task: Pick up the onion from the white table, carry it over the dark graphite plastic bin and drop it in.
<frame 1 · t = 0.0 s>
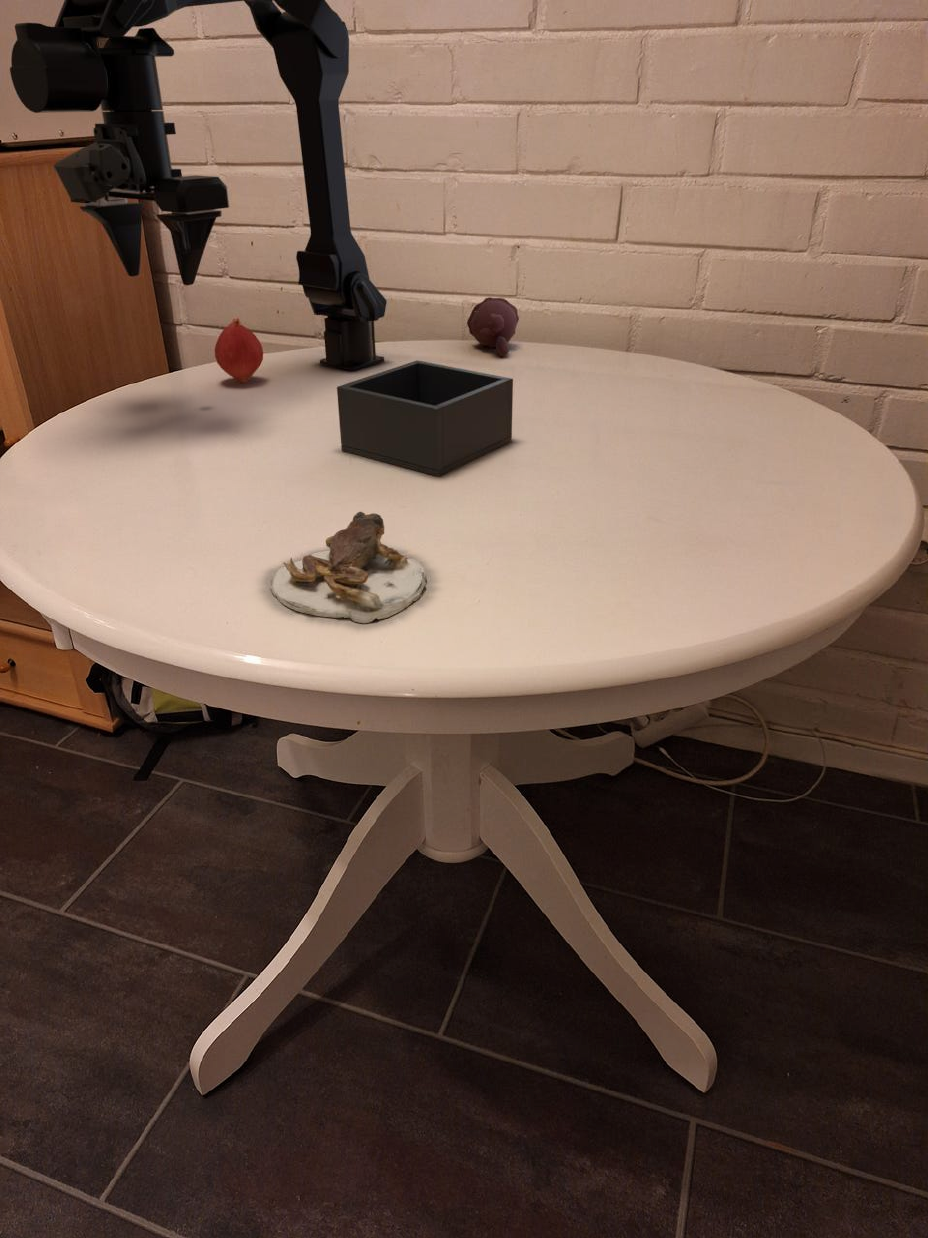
hand: (160, 280, 96), 15 cm above the table, tool pointing down, fingers open, 9 cm apart
frog figurine: (349, 582, 68), on the table
bin: (427, 445, 94), on the table
onion: (243, 383, 115), on the table
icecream: (493, 347, 131), on the table
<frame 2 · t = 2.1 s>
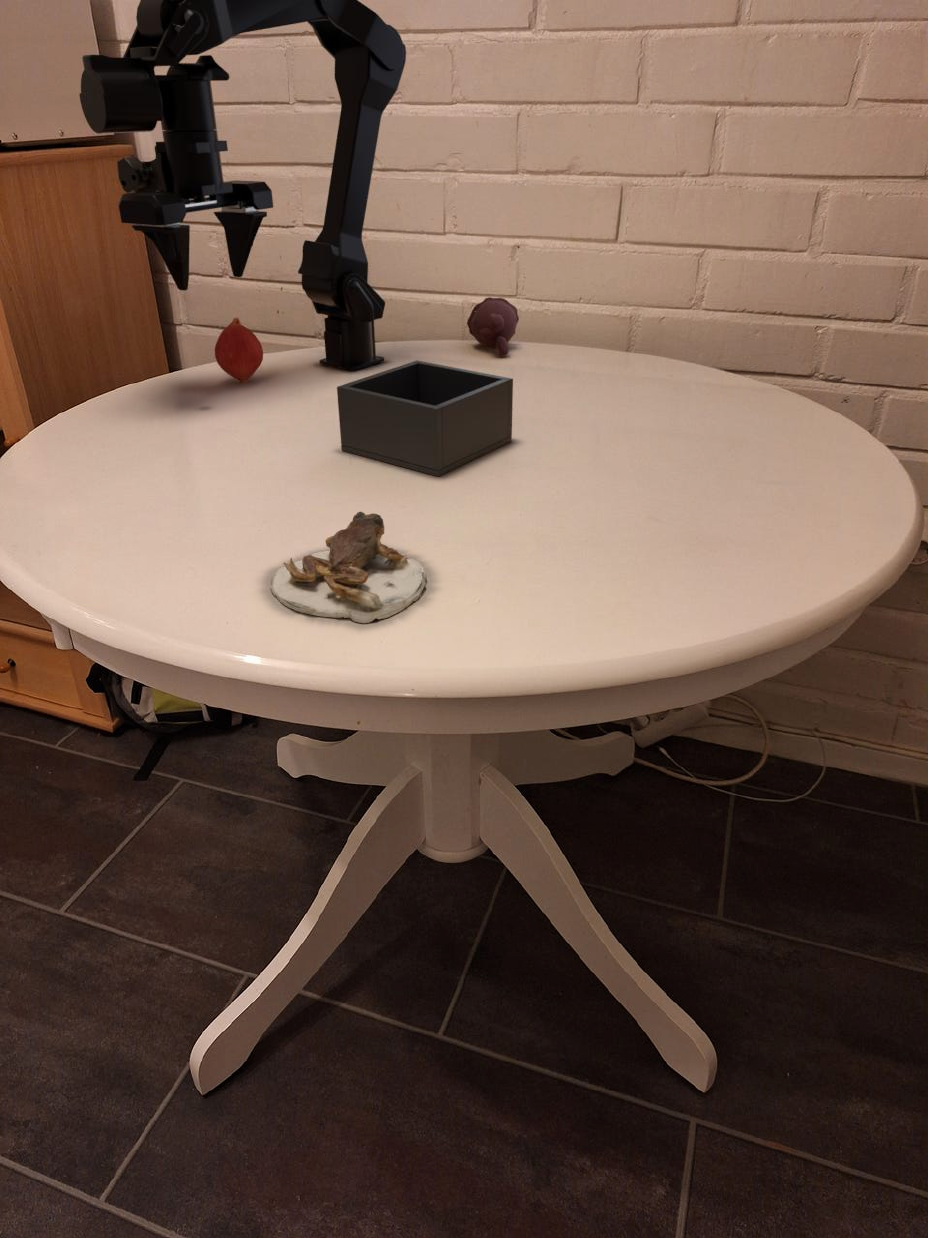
hand: (211, 283, 105), 13 cm above the table, tool pointing down, fingers open, 9 cm apart
nothing on the table moved.
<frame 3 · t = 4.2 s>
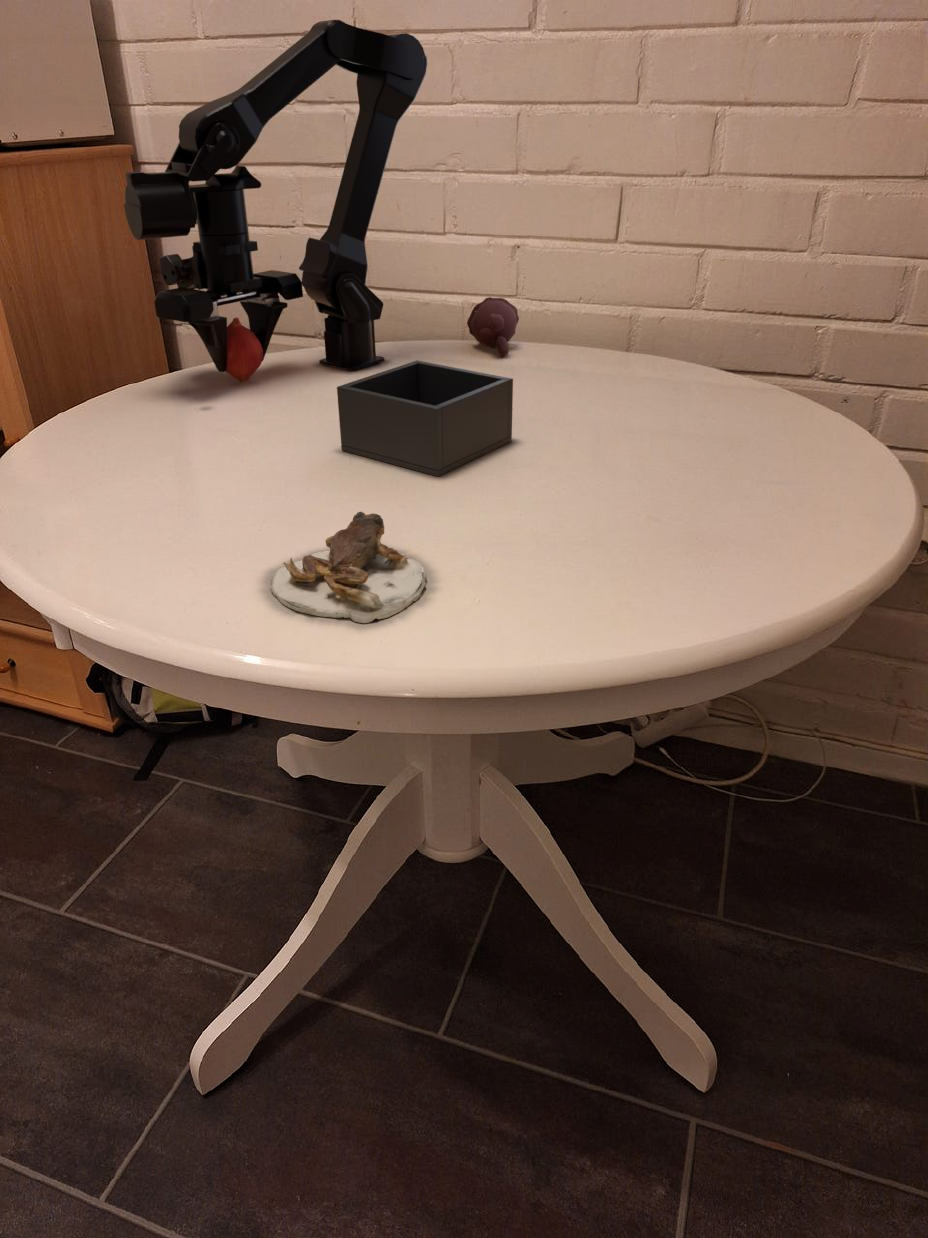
hand: (241, 366, 114), 2 cm above the table, tool pointing down, fingers closed on onion, 6 cm apart
onion: (243, 383, 115), on the table, touching gripper
everything else where it was.
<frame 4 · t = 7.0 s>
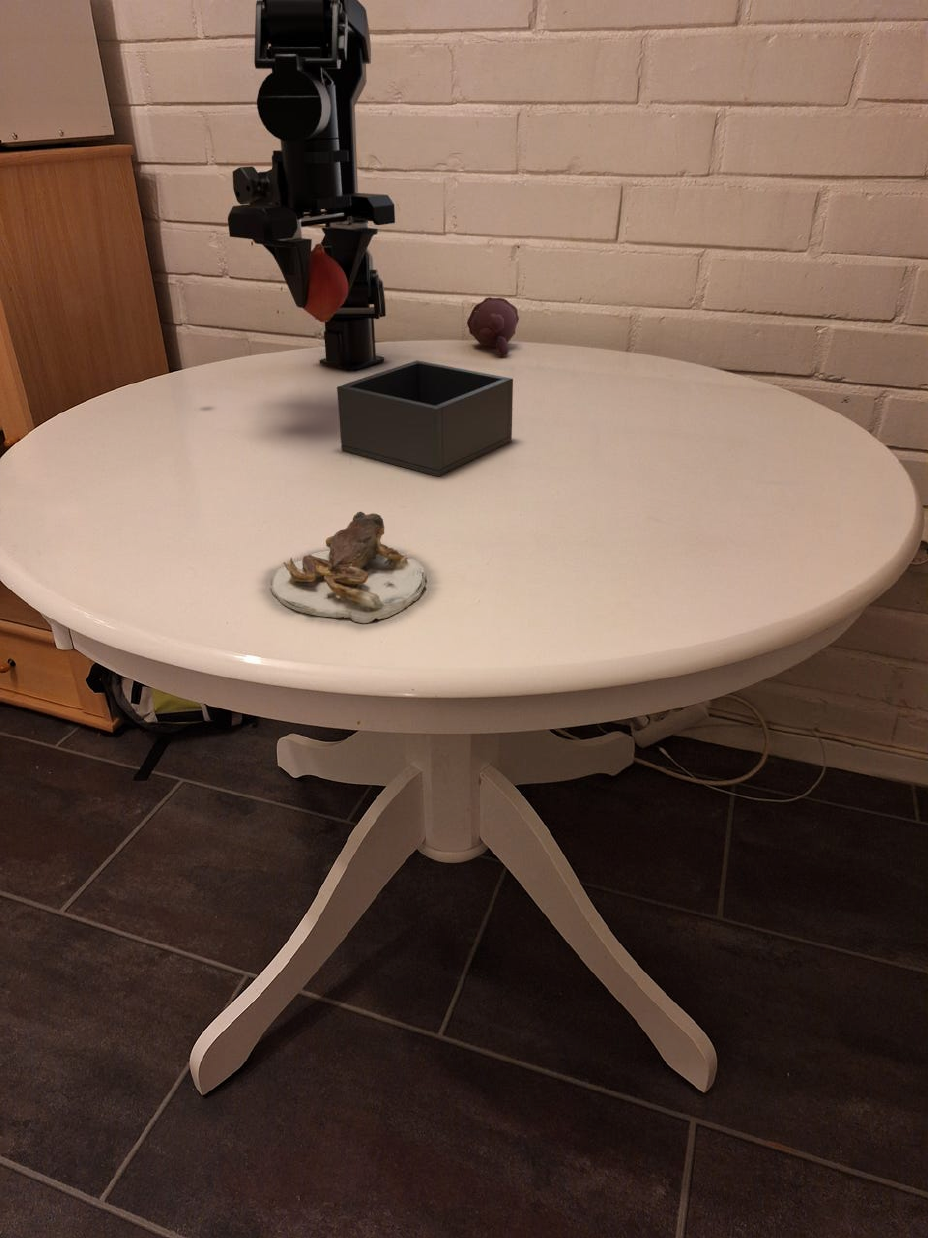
hand: (322, 302, 98), 12 cm above the table, tool pointing down, fingers closed on onion, 6 cm apart
onion: (323, 323, 99), point 10 cm above the table, touching gripper
everything else where it was.
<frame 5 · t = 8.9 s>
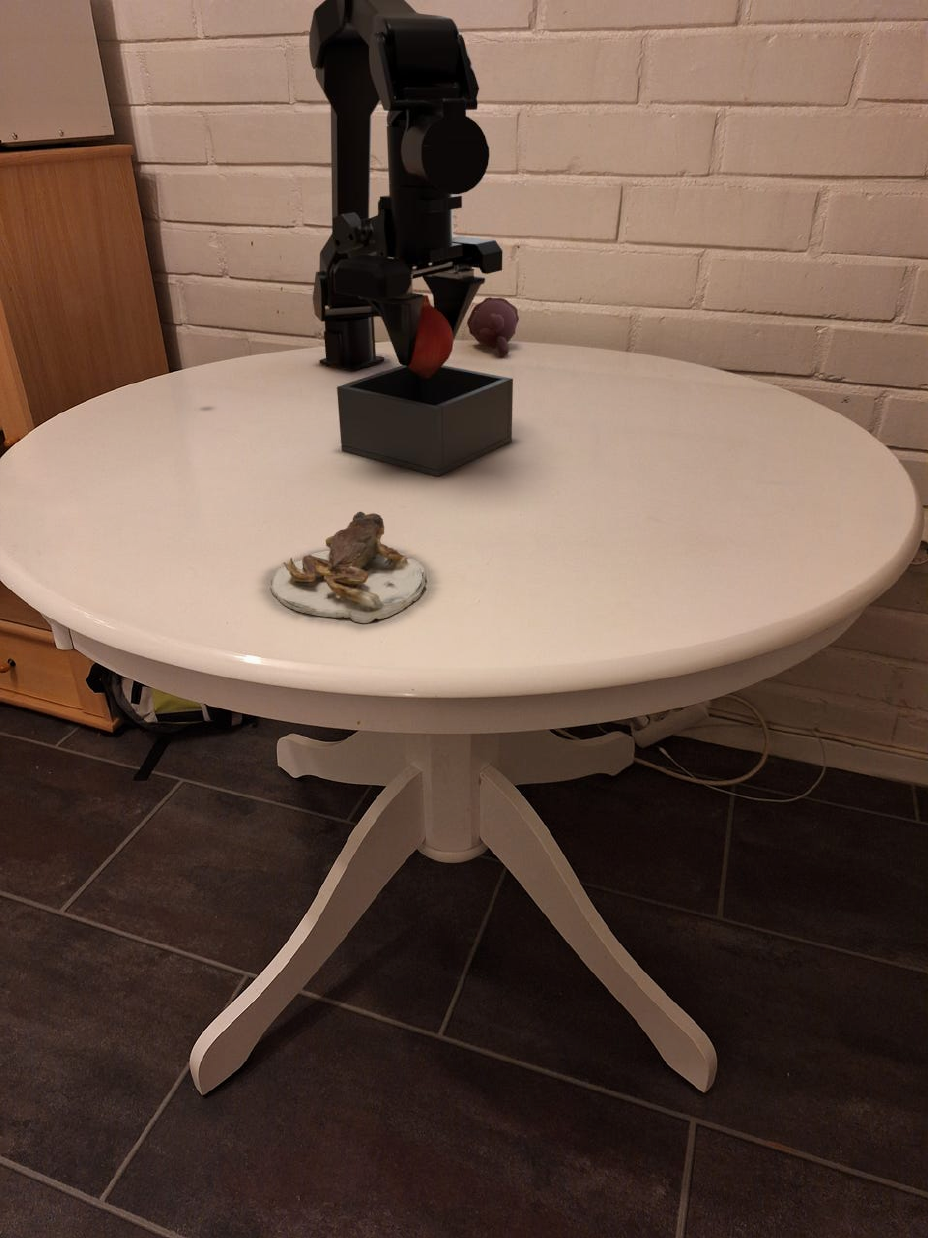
hand: (424, 358, 90), 9 cm above the table, tool pointing down, fingers closed on onion, 6 cm apart
onion: (424, 380, 91), point 7 cm above the table, touching gripper
everything else where it was.
when the fingers open (6 cm above the table, at t = 10.3 s): onion drops 3 cm, resting on bin.
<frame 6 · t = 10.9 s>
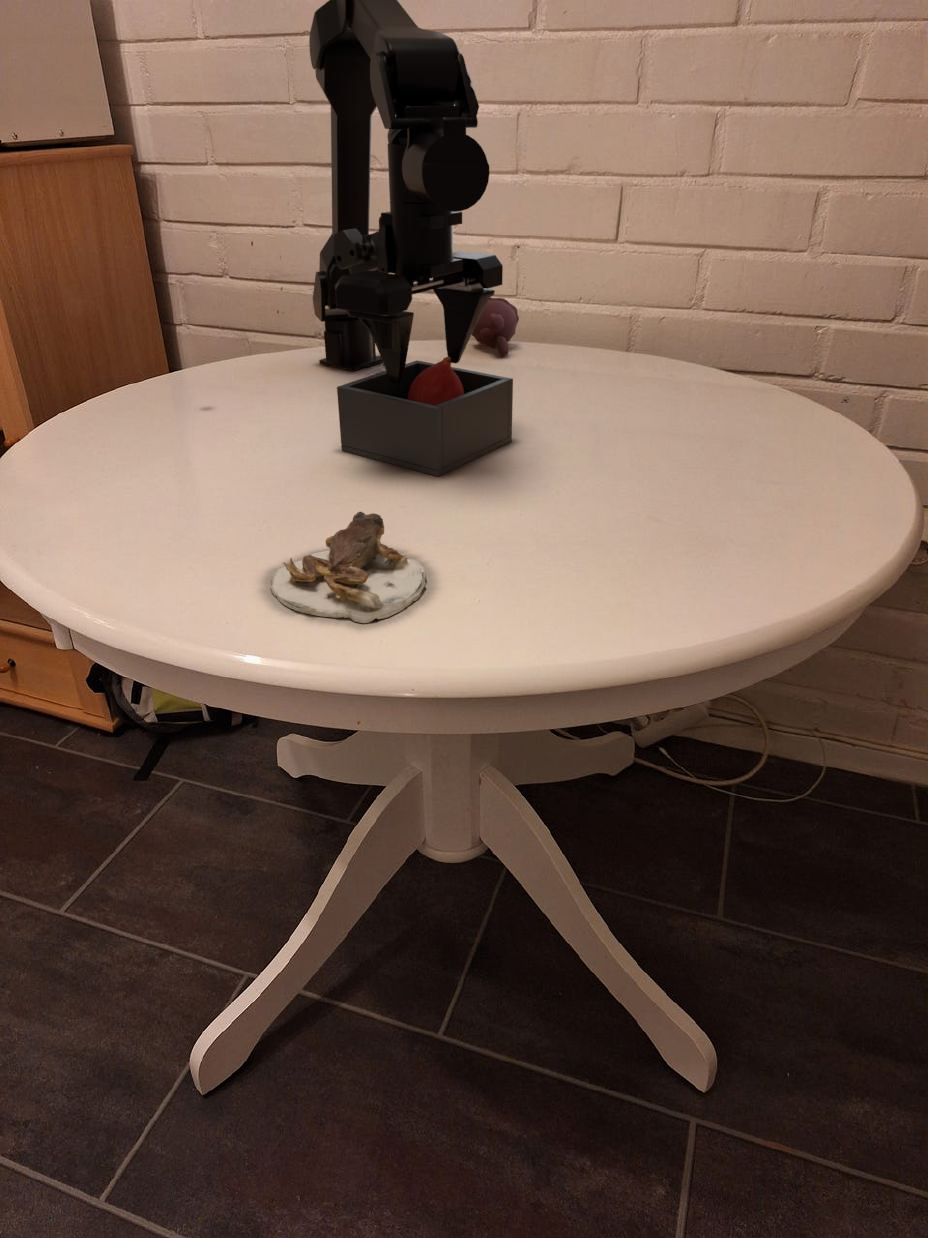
hand: (425, 372, 90), 8 cm above the table, tool pointing down, fingers open, 9 cm apart
onion: (427, 435, 94), point 1 cm above the table, touching bin
everything else where it was.
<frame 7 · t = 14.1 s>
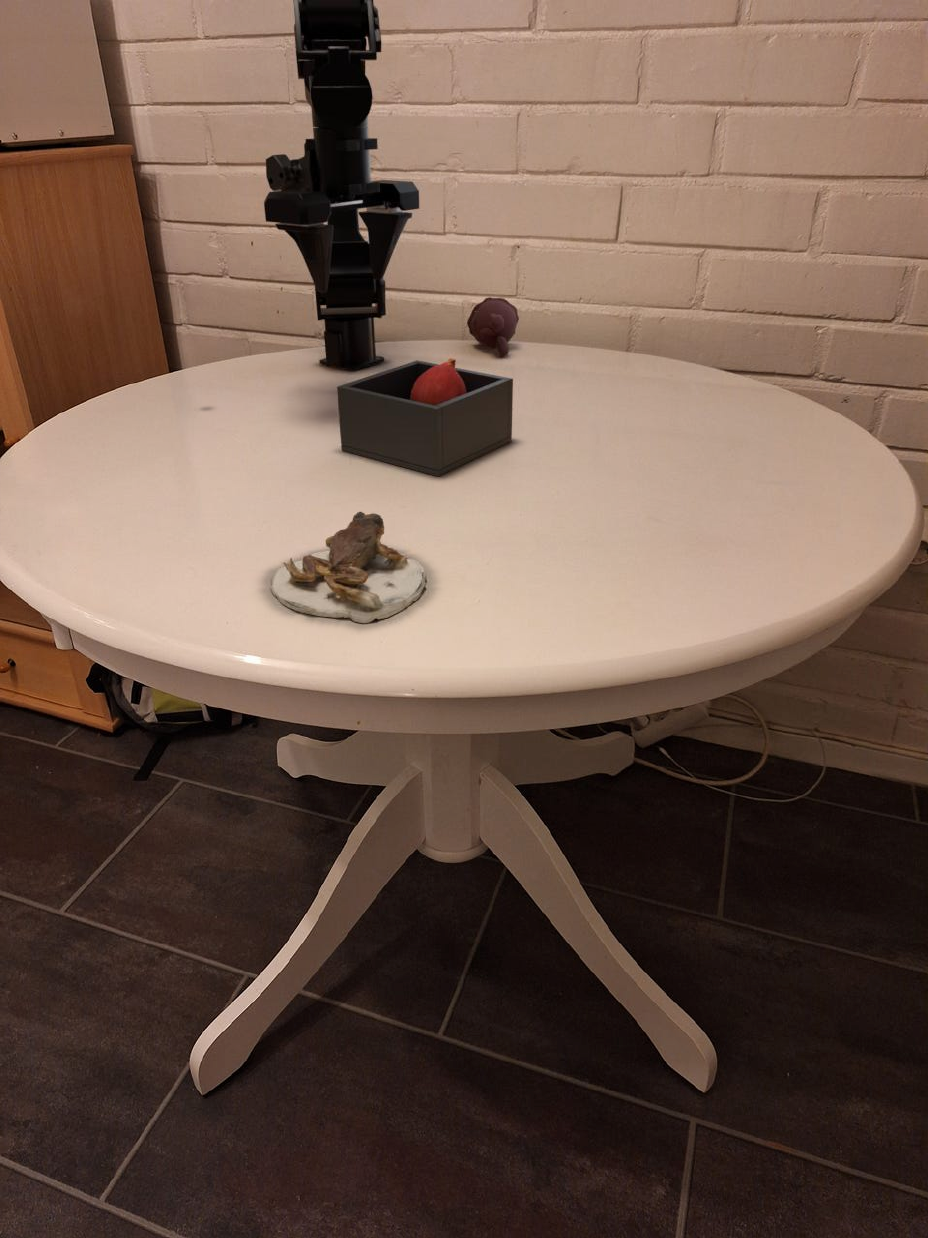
hand: (350, 285, 102), 13 cm above the table, tool pointing down, fingers open, 9 cm apart
nothing on the table moved.
at the end: onion inside the target area in the bin (0.3 cm from its centre), point 1.1 cm above the bin's base; the gripper is holding nothing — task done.
